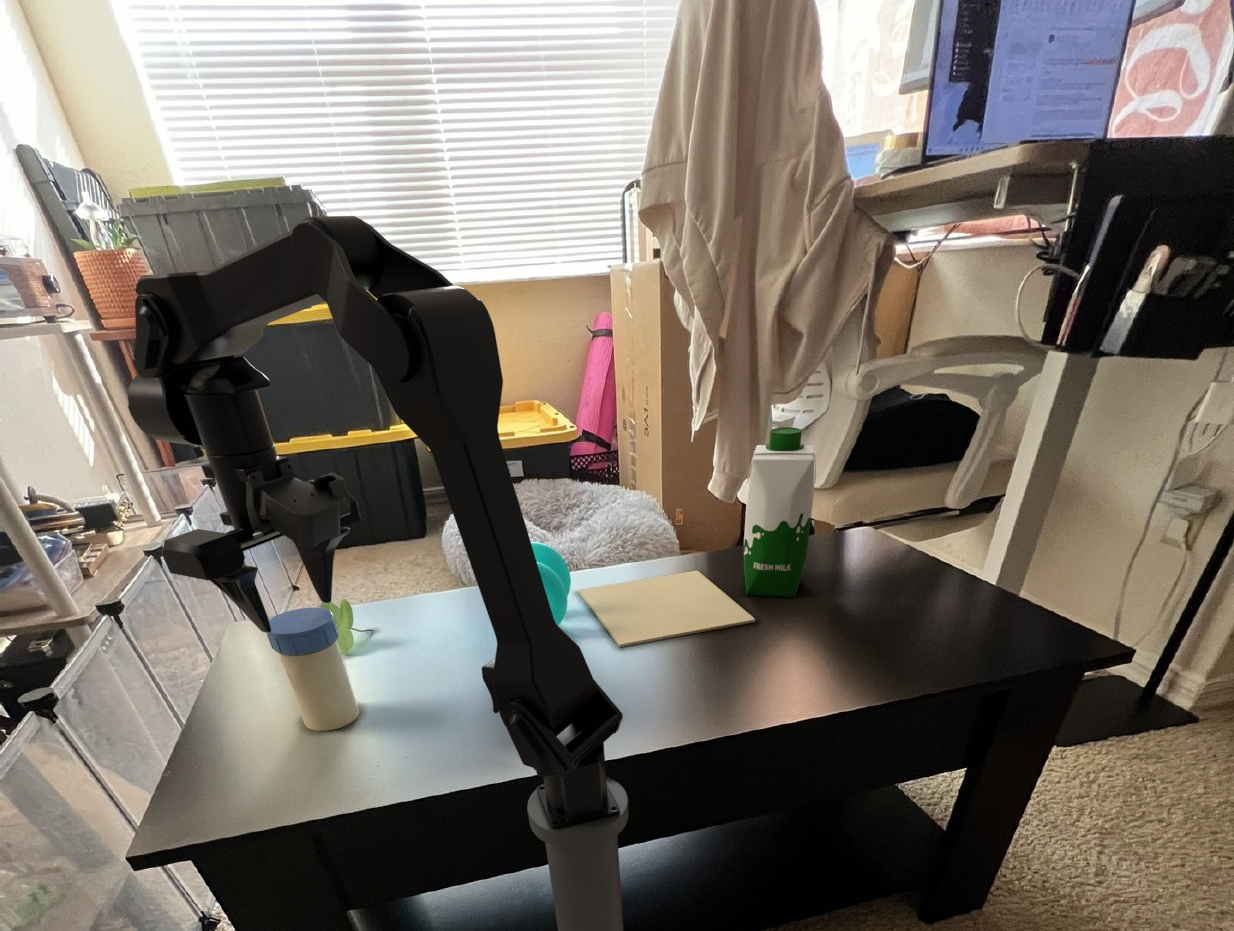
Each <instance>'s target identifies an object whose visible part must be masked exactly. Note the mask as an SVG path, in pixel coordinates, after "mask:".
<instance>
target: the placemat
mask: <svg viewBox="0 0 1234 931" xmlns="http://www.w3.org/2000/svg"><path fill="white" fill-rule="evenodd" d="M577 593H578V594H579V595H580V597H581V598H582V600H583V601H584V602H585V603H586V604H587V606H588V607H589V608H590V610H591V611H592V613H593V614H594V615H595V617H596V618H597V620H598V621H599V623H601V624H602V626H603V628H604V629H605V630H606V631H607V632H608V634H609V635H610V636H611V638H612V639H613V641H614V642H615V643H616V645H617V646H618V647H619V648H623V647H629V646H634V645H640V644H644V643H650V642H656V641H661V640H666V639H671V638H677V637H682V636H688V635H692V634H698V633H703V632H709V631H715V630H720V629H725V628H730V627H737V626H741V625H747V624H748V625H749V624H752V623H756V622H757V621H756V619H755V617H753V615H752V614H750V613H749V612H748V611H746V609H744V608H743V607H742V606H740V605H739V604H738V603H737V602H735V601H734V600H733V599H732V598H731V597H730V596H729V595H727V593H725V592H724V591H723V590H722V589H720V588H719V587H718V586H716V585H715V584H714V583H713V582H712V581H711V580H710V579H708V578H707V577H706V576H705V575H704V574H702V573H701V572H700V571H699V570H691V571H685V572H679V573H673V574H667V575H661V576H655V577H650V578H644V579H637V580H631V581H626V582H619V583H614V584H613V583H612V584H607V585H601V586H596V587H589V588H583V589H578V592H577Z"/></svg>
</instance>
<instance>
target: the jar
mask: <svg viewBox="0 0 1234 931" xmlns="http://www.w3.org/2000/svg"><path fill="white" fill-rule="evenodd" d="M277 654H278V656H279V659H280V662H281V665H282V667H283V670H284V672H285V675H286V678H287V680H288V683H289V687H290V688H291V691H292V694H293V697H294V700H295V702H296V704H297V707H298V710H299V712H300V715H301V718H302V720H303V723H304V725H305V727H306V728H308V729H309V730H311V731H316V732H329V731H333V730H337V729H341V728H344V727H346V726H348V725H351V724H352V723H353V722H354V721H356V719H357V718H358V717H359V716H360V715H359V714H360V709H359V706H358V703H357V699H356V695H355V693H354V690H353V687H352V683H351V680H350V677H349V674H348V670H347V668H346V664H345V662H344V658H343V654H341V651H340V648H339V645H338V642H337V640H336V641H335V642H334V643H333V644H332V645H330V646H328V647H326V648H324V649H322V650H319V651H316V652H312V653H308V654H302V655H284V654H280V653H277Z"/></svg>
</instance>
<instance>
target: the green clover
mask: <svg viewBox="0 0 1234 931" xmlns="http://www.w3.org/2000/svg"><path fill="white" fill-rule="evenodd" d="M319 608H323V609H327V610H329V611H330V612H331V613H332V615H333V617H334V620H335V623H336V626H337V630H338V635H339V636H338V639H337V642H338V645H339V648H340V651H341V654H342V656H344V655H347V654H348V653H349V652H351V651H352V650H353V647H354V642H355V640H354V639H355V638H354V635H353V632H352V630H353V631H356V632H359V633H365V632H374V629H371V628H368V629H364V630H363V629H357V628H354V627H353V626H354V612H353V608H352V606H351V603H350V602H349V600H347V599H342V600H341V601H340V603H339V606H337V605H336V604H335V603H334V602H332V601H331V602H330V603H324V602H322V601H321V603H320V606H319Z"/></svg>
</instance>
